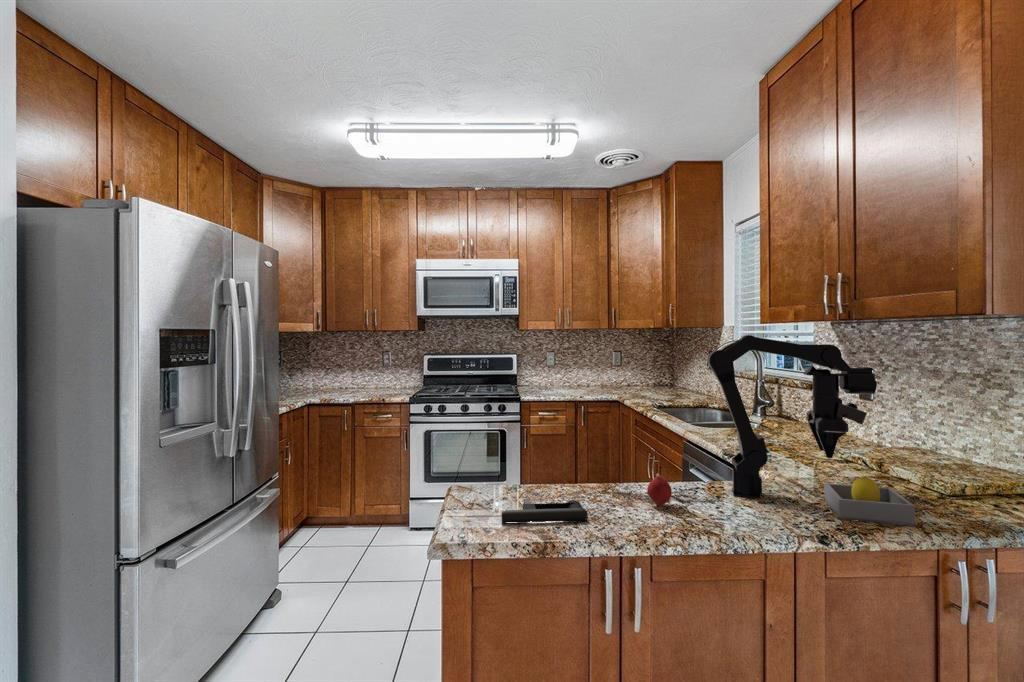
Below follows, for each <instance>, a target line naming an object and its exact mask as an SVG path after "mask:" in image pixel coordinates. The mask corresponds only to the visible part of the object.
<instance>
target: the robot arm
mask: <svg viewBox="0 0 1024 682" xmlns="http://www.w3.org/2000/svg"><path fill="white" fill-rule="evenodd" d="M750 351H755V352H761V353H765V354H766V353H767V354H771V355H773V354H774V355H779V356H784V357H790V358H796V359H799V360H800V361H804V362H805V363H806V362H807V363H810V364H812V365H810V366H809V368H807V369H806V370H805V371H803V375H805V376H812V395H811V396H810V400H811V401H812V409H810V410H808V411H807V412H806V414H805V415H806V416H805V417H806V421H807V424H808V427H809V429H810V431H811V433H812V436H813V438H814V440H815V442H816V444H817V447H818V449H819V450H820V451H821V452H824V454H825V456H826V458H827V459H833V457H834V453H835V450H836V447H837V444H838V440H839V439H840V438H841V437H842V436H844V435H846V434H847V433H848V432H849V423H848V422H846V421H845V420H844V419H847V420H850V421H853V422H855V423H856V424H859V425H863V424H864V422H865V419H866V416H867V415H868V413H867V411H863V410H862V409H859V408H858V404H855V403H852V402H850V401H849V402H848V403H846V404H845V403H843V399H842V398H840V390H843V392H844V393H845V394H848V395H874V394H875V393H876V391H877V385H878V384H877V380H876V376H875V374H874V372H873V367H871V366H870V367H868V366H864V367H863V366H862V367H851V366H850V365H849V364H848V363H847V362H846V361H845V359H844V358H843V356H842V351H841V350H840V349H839V347H838V346H836V345H834V344H815V343H814V344H810V343H809V344H807V343H805V344H803V343H801V344H800V343H795V342H788V341H782V340H777V339H776V340H775V339H768V338H763V337H757V336H753V335H752V334H747V335H742V336H741V337H740V338H739V339H737V340H736V341H734V342H732V343H731V344H729V345H727V346H725V347H724V348H723V349H716V350H712V351H710V353H709V354H708V356H707V359H706V360H707V364H708V367H709V368H710V370H711V371H712V373H713V375H714V377H715V378H716V380H717V382H718V383H719V384H720V388H721V390H722V393H723V397H724V398H725V402H726V404H727V407H728V409H729V412H730V415H731V419H732V420H733V423H734V427H735V429H736V431H737V432H736V433H737V442H738V443H737V445H738V449H739V452H738V453H737V454H736V455H734V456H733V457H731V462H732V465H733V467H734V468H732V488H731V489H732V495H733V496H735V497H745V498H746V497H747V498H757V499H760V498H761V497H762V494H763V481H762V480H763V479H762V476H761V475H760V470H761V468H762V467H764V466H765V465H766V463H767V462H768V460H769V458H768V454H770V451H769V450H768V449H767V447H766V442H765V438H764V437H763V436H762V435H761V434H760V433H757V434H756V433H755V432H754V429H753V427H752V424H751V421H750V418H749V415H748V413H747V411H746V408H745V405H744V402H743V399H742V397H741V394H740V391H739V387H738V385H737V383H736V376H735V375H736V374H735V372H736V371H735V365H734V362H735V361H736V360H737V361H738V360H739V359H740V358H741V357H743V356H744V355H745V354H747V353H748V352H750ZM813 365H814V366H813ZM815 365H816V366H818V367H824V368H816V367H815ZM830 370H832V371H836V373H835V372H831V371H830ZM837 371H839V372H840V373H839V372H837Z"/></svg>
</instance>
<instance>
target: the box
mask: <svg viewBox="0 0 1024 682" xmlns="http://www.w3.org/2000/svg"><path fill="white" fill-rule="evenodd" d="M823 484H824V485H823V487H824V488H823V489H824V495H823V496H824V502H825V504H828V505H829V506H828V505H827V506H828V507H829V508H830V509H832V510H833V511H832V510H831V511H832V512H833V514H834V515H835V514H836V515H837V516H836V515H835V516H836V517H837V518H838V519H845V520H844V521H850V520H858V521H857V522H861V521H867V522H866V523H871V522H876V523H875V524H882V523H885V524H884V525H893V524H895V525H896V526H904V525H909V526H908V527H916V515H915V513H916V512H915V510H916V509H915V508H916V507H915V505H914V504H913V503H911V501H909V500H908V499H906V498H905V497H904V496H902V495H901V494H900V493H898V492H897V491H896V490H895V489H894V488H892V487H883V486H878V487H879V490H880V501H879V502H874V501H862V500H853V498H852V494H851V489H852V485H853V484H844V483H843V484H841V483H829V482H828V483H826V482H824V483H823Z"/></svg>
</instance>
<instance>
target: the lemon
mask: <svg viewBox="0 0 1024 682" xmlns="http://www.w3.org/2000/svg"><path fill="white" fill-rule="evenodd" d="M851 485H852V489H851V494H852V498H853V500H862V501H874V502H879V501H880V490H879V487H880V486H879V485H878V483H876V481H874V480H873V479H871V478H869V477H868V476H867V475H862V477H859V478H856V479H855V480H854V481H853V482H852V484H851Z"/></svg>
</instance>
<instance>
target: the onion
mask: <svg viewBox="0 0 1024 682" xmlns="http://www.w3.org/2000/svg"><path fill="white" fill-rule="evenodd" d="M655 476H656V477H655V478H653V479H651V480H650V482H649V483H648V485H647V490H646V493H647V496H648V497H649V499H650V500H651V501H652V502H653V503H654V504H655V505H656V506H657V505H658V506H657V507H662V506H663V505H665V504H667V502H669V501H670V500H671V498H672V493H673V491H672V487H671V485H670V483H669V482H668V480H666V479H665V478H663V477H662V475H660V474H659V473H656V475H655Z"/></svg>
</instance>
